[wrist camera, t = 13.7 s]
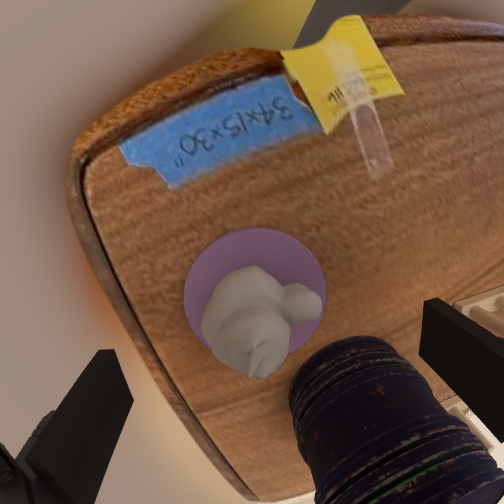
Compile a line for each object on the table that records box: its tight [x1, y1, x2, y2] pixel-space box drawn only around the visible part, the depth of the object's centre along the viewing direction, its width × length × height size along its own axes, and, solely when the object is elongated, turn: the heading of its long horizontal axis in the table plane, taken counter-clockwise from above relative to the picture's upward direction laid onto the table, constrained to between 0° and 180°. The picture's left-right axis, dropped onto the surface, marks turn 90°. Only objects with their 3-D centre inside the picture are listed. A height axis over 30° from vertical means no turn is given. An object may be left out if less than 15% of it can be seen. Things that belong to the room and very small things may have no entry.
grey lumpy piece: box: [201, 265, 322, 380], centre depth 15 cm, size 5×7×8 cm
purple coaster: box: [183, 227, 327, 356], centre depth 20 cm, size 9×9×1 cm
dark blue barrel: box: [289, 336, 504, 504], centre depth 13 cm, size 10×10×18 cm
